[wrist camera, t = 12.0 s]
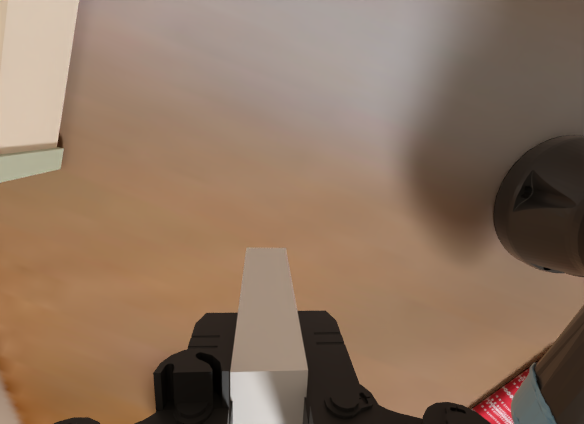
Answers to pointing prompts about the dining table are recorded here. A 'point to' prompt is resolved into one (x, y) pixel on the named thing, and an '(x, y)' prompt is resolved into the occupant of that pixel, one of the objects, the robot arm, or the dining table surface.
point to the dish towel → (501, 402)
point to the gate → (33, 83)
